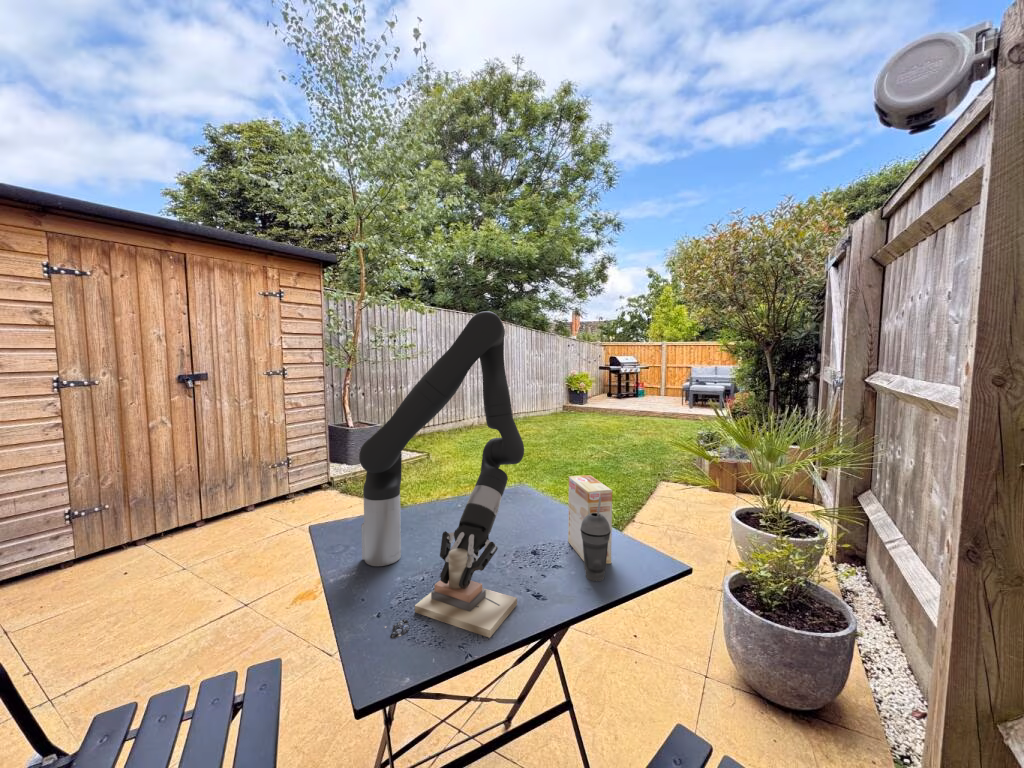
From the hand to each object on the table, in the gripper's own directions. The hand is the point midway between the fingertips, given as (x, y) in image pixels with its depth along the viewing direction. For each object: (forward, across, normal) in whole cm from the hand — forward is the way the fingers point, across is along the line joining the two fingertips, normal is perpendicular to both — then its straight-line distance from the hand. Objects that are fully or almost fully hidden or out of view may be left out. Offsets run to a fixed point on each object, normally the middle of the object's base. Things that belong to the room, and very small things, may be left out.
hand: (452, 584), depth 87 cm
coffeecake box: (-23, +18, +32) cm, 43 cm away
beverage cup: (-15, +23, +23) cm, 36 cm away
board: (+3, +2, +5) cm, 6 cm away
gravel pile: (+11, -6, -2) cm, 13 cm away
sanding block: (+1, 0, +4) cm, 5 cm away
